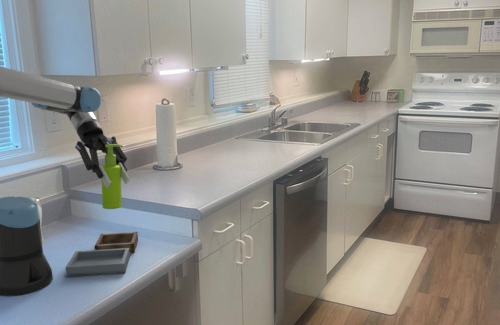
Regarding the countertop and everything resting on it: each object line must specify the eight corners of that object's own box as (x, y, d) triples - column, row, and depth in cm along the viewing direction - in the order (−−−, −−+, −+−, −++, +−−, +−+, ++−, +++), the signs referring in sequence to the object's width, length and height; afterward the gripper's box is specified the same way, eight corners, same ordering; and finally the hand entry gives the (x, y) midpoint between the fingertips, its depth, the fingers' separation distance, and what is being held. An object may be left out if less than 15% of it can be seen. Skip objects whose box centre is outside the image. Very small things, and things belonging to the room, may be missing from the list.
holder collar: (95, 255, 153) (94, 246, 153) (101, 242, 164) (100, 234, 164) (134, 252, 155) (133, 243, 154) (138, 240, 166) (137, 231, 165)
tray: (66, 277, 138) (65, 267, 137) (76, 260, 150) (75, 251, 149) (124, 273, 140) (124, 263, 139) (129, 257, 151) (129, 247, 151)
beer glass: (24, 240, 168) (19, 197, 165) (46, 237, 170) (41, 195, 167) (21, 247, 162) (16, 203, 159) (44, 244, 164) (39, 201, 161)
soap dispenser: (126, 207, 155) (124, 145, 152) (103, 209, 153) (100, 146, 149) (123, 203, 161) (121, 142, 157) (101, 205, 158) (99, 143, 155)
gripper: (109, 131, 169) (139, 184, 162) (56, 137, 156) (86, 196, 148) (116, 116, 165) (148, 170, 157) (62, 122, 151) (94, 181, 143)
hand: (118, 183), depth 153 cm, fingers closed on soap dispenser, 6 cm apart
